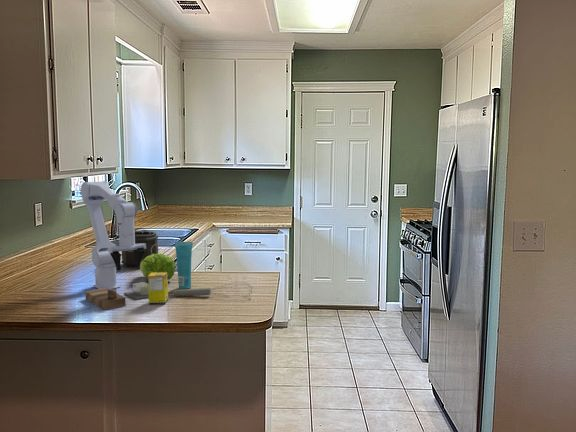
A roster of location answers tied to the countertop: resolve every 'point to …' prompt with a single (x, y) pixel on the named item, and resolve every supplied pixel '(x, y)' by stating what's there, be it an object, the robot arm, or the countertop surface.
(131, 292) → the charcoal mat
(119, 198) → the robot arm
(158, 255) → the lettuce
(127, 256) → the dark speckled bucket
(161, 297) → the supplement box
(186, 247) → the tube
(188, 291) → the kitchen whisk
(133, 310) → the countertop surface
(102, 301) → the walnut plane
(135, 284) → the lever cap
